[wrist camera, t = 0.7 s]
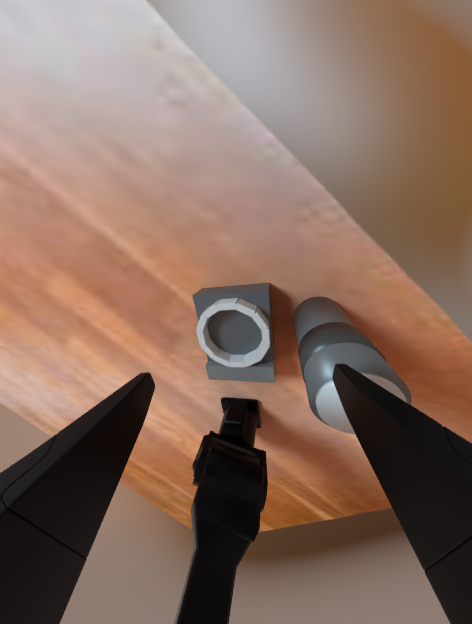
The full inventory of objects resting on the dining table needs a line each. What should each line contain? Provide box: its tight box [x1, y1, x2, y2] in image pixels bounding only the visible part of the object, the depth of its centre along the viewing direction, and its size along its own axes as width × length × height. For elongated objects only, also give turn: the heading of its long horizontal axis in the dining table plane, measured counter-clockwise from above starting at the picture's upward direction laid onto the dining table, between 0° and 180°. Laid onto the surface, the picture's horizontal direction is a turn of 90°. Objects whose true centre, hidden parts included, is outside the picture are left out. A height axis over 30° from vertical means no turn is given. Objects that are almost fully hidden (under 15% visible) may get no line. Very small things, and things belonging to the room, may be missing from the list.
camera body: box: [193, 283, 275, 383], centre depth 23 cm, size 12×9×4 cm
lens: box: [293, 297, 411, 434], centre depth 17 cm, size 6×6×13 cm
